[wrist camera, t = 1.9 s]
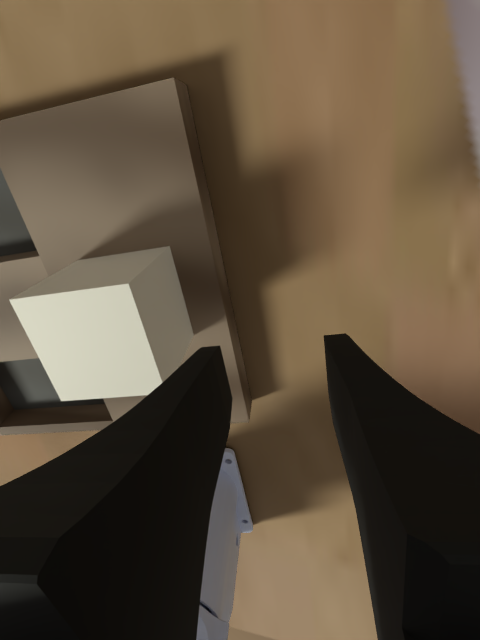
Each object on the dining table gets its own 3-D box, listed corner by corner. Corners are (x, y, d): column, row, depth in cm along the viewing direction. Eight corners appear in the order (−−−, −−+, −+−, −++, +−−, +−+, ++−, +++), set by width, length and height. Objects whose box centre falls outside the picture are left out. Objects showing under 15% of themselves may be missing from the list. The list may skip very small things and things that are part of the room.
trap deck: (251, 400, 23) (246, 440, 20) (-55, 420, 28) (-97, 455, 25) (186, 84, 15) (161, 70, 12) (-226, 184, 20) (-320, 192, 17)
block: (193, 334, 19) (166, 393, 15) (110, 343, 20) (61, 401, 15) (169, 246, 17) (128, 283, 12) (77, 260, 18) (9, 299, 13)
